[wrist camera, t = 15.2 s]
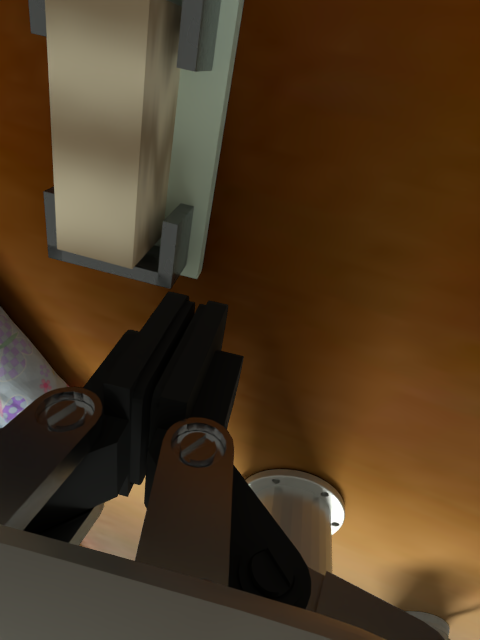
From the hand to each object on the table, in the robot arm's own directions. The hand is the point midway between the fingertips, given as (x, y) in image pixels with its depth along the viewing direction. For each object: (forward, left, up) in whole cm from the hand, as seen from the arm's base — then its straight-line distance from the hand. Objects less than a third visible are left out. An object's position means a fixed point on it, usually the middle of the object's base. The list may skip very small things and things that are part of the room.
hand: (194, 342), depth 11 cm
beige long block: (-4, +9, -19) cm, 21 cm away
